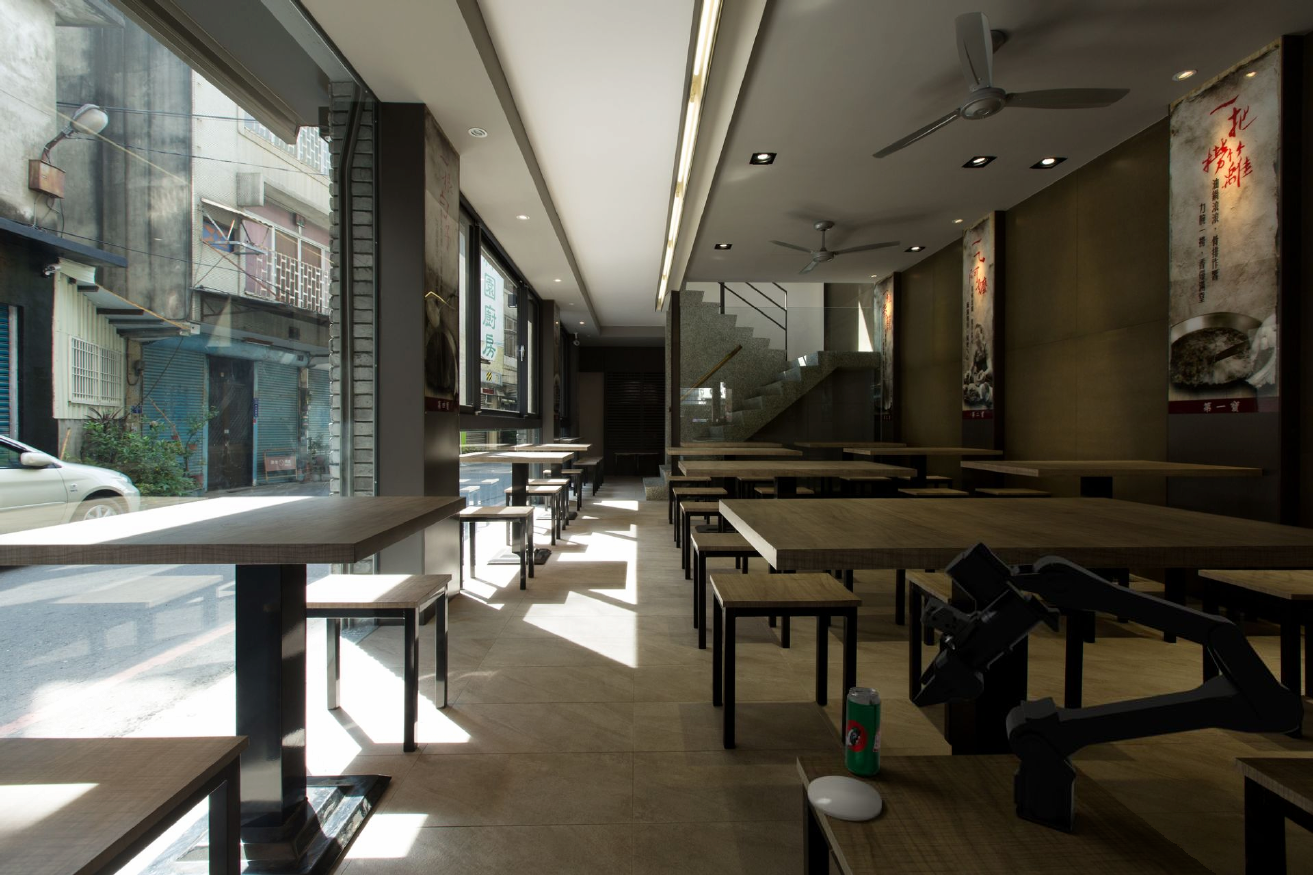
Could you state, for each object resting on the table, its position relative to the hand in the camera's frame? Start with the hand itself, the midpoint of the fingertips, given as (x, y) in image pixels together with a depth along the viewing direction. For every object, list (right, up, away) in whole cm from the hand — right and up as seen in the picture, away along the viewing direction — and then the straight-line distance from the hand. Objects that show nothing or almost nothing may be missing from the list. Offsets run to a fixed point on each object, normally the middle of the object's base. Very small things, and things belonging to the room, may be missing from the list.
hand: (918, 693), depth 98 cm
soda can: (-7, -14, +4) cm, 16 cm away
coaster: (-12, -13, -4) cm, 19 cm away
